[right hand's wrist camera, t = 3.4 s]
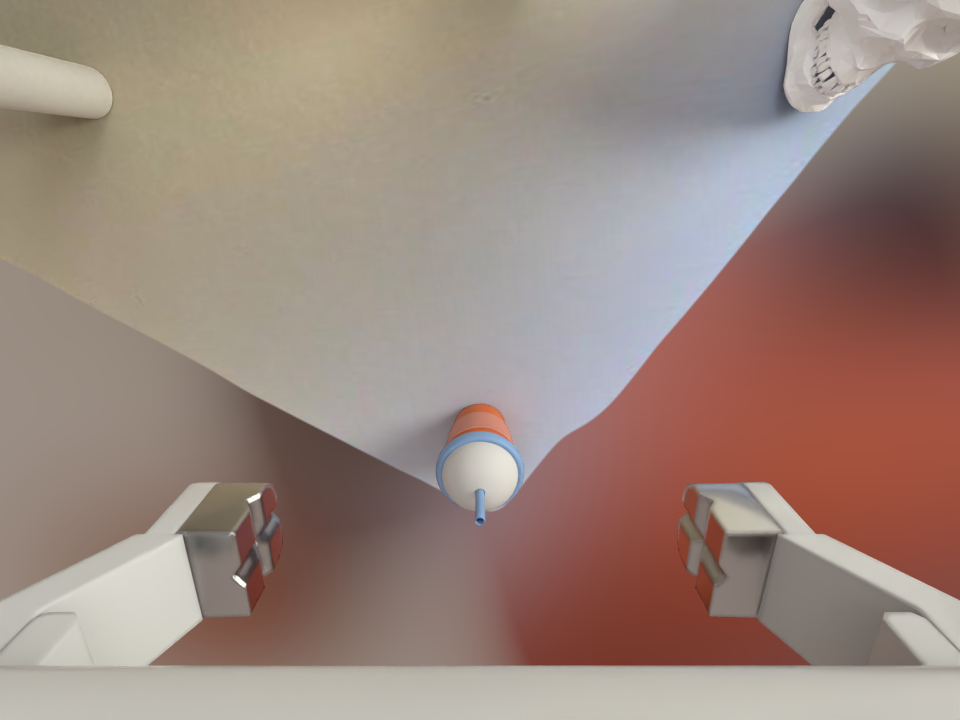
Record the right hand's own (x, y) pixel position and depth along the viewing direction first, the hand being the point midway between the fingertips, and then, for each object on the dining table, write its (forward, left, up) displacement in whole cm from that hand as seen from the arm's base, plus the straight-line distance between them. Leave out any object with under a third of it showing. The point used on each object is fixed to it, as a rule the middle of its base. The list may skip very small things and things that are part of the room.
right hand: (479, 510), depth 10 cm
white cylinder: (-13, -38, -48) cm, 63 cm away
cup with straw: (+23, 0, -48) cm, 53 cm away
